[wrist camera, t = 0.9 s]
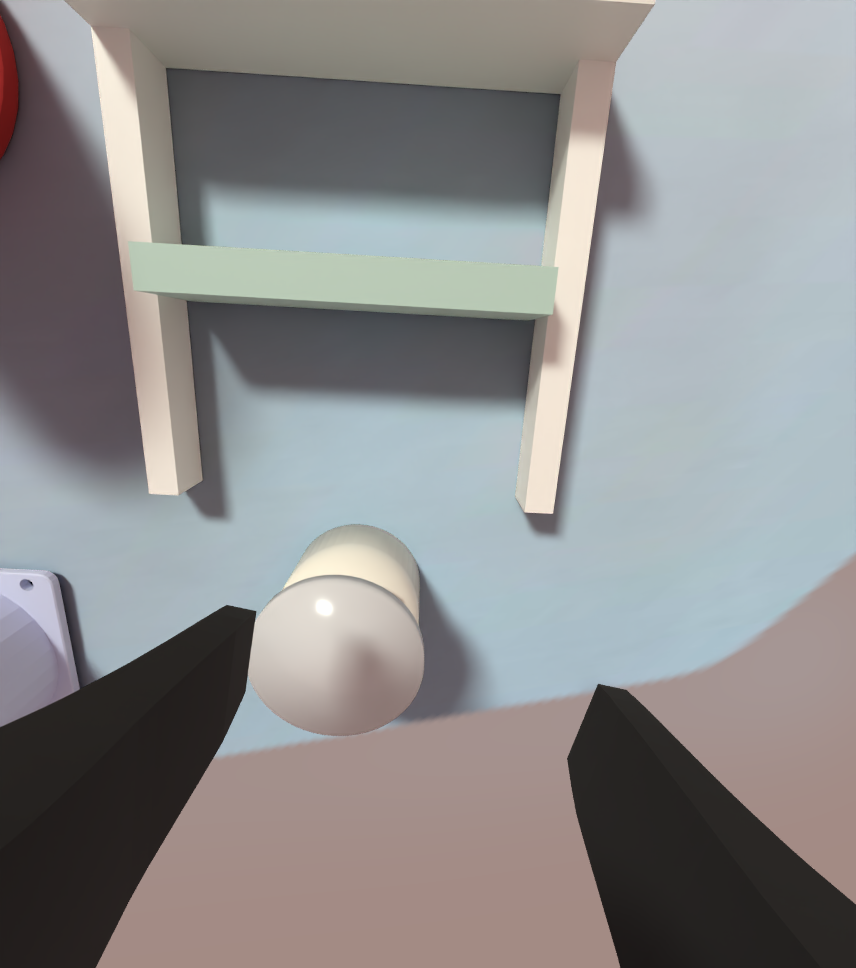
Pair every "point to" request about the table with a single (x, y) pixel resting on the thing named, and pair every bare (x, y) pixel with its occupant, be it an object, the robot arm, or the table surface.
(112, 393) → the table surface
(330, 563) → the jar
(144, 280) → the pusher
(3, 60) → the canned food
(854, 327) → the table surface
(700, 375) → the table surface
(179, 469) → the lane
